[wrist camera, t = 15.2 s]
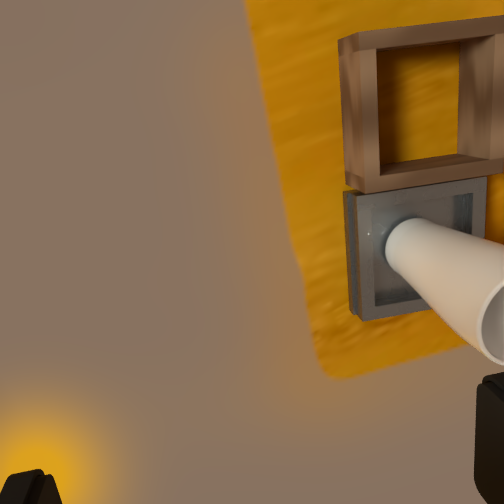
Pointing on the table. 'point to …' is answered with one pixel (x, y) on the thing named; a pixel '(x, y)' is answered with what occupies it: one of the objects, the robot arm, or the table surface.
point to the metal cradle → (382, 224)
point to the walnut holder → (469, 108)
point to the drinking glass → (454, 279)
